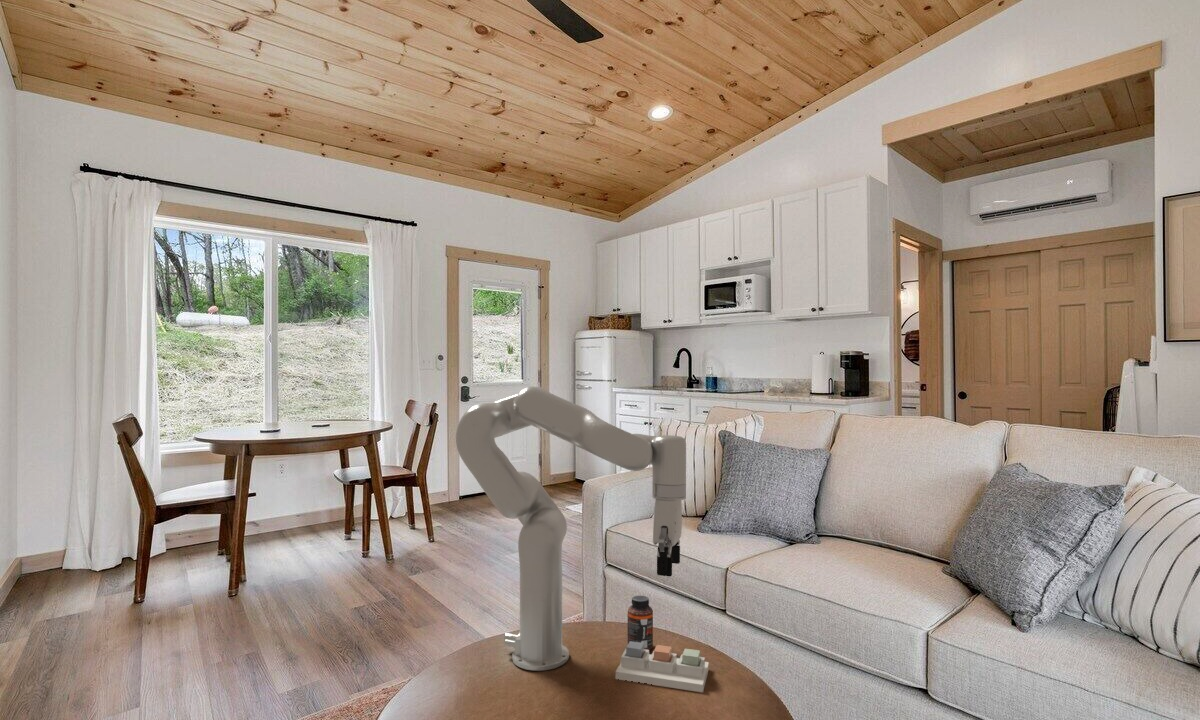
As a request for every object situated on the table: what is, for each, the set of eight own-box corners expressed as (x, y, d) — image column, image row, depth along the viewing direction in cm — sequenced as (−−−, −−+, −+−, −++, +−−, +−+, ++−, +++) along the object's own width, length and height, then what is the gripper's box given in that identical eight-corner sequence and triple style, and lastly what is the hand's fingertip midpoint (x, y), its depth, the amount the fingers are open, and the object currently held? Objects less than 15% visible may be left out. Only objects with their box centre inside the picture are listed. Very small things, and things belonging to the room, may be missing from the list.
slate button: (626, 658, 122) (626, 647, 122) (629, 652, 125) (629, 641, 125) (640, 661, 121) (640, 649, 122) (644, 654, 124) (644, 643, 125)
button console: (615, 679, 119) (615, 661, 120) (627, 657, 129) (627, 641, 129) (702, 692, 114) (702, 674, 114) (708, 669, 124) (708, 652, 124)
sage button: (682, 667, 119) (682, 655, 119) (684, 660, 122) (684, 648, 122) (698, 669, 118) (697, 657, 118) (700, 662, 121) (699, 650, 121)
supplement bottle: (651, 654, 131) (651, 603, 131) (625, 652, 132) (625, 601, 132) (654, 643, 136) (654, 594, 137) (629, 641, 138) (629, 592, 138)
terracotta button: (653, 662, 121) (653, 651, 121) (656, 656, 124) (656, 644, 124) (668, 665, 120) (668, 653, 120) (671, 658, 123) (671, 646, 123)
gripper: (660, 484, 138) (660, 557, 137) (643, 496, 122) (643, 578, 121) (691, 486, 136) (691, 560, 135) (679, 498, 120) (678, 582, 119)
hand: (668, 568), depth 128 cm, fingers open, 9 cm apart
